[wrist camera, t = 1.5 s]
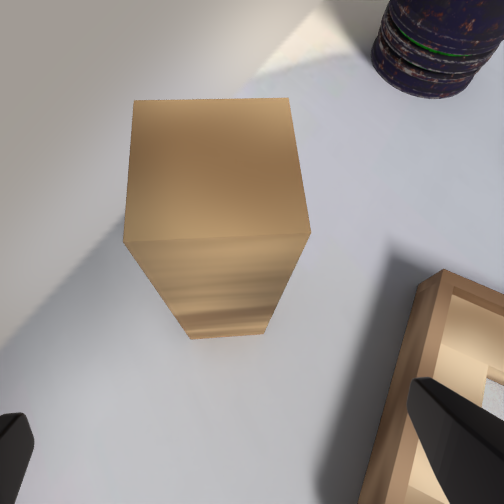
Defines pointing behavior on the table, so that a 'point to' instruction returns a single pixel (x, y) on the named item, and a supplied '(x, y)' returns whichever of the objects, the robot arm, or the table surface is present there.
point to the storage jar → (436, 44)
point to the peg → (216, 209)
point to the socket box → (440, 369)
